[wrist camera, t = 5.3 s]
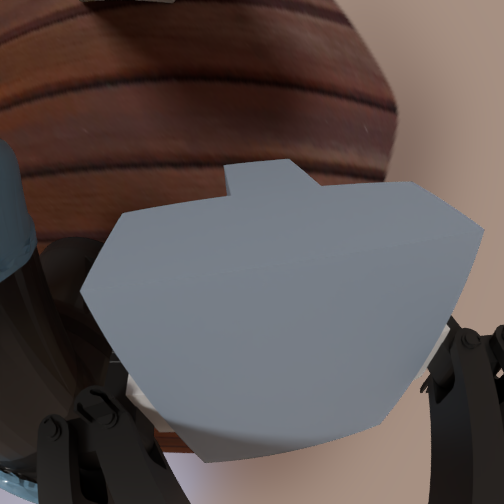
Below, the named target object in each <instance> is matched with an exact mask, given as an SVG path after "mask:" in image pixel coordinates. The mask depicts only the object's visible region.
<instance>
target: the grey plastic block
mask: <svg viewBox="0 0 504 504" xmlns="http://www.w3.org/2000/svg"><path fill="white" fill-rule="evenodd" d="M224 171H225V180H226V189H227V196H225V197H218V198H210V199H203V200H197V201H190V202H184V203H177V204H171V205H165V206H159V207H154V208H148V209H143V210H137V211H132V212H127V213H123V214H122V215H121V217H120V218H119V220H118V222H117V223H116V225H115V227H114V228H113V230H112V232H111V233H110V235H109V237H108V239H107V240H106V242H105V244H104V246H103V247H102V249H101V251H100V253H99V255H98V256H97V258H96V260H95V262H94V264H93V266H92V268H91V270H90V272H89V274H88V276H87V278H86V280H85V282H84V284H83V286H82V288H81V290H80V292H81V294H82V296H83V298H84V300H85V302H86V304H87V306H88V308H89V310H90V311H91V313H92V315H93V317H94V319H95V320H96V322H97V324H98V326H99V327H100V329H101V331H102V332H103V334H104V336H105V337H106V339H107V341H108V342H109V344H110V346H111V347H112V349H113V350H114V352H115V353H116V355H117V357H118V358H119V360H120V361H121V363H122V364H123V366H124V367H125V368H126V370H127V371H128V373H129V374H130V376H131V377H132V378H133V380H134V381H135V383H136V384H137V385H138V387H139V388H140V389H141V391H142V392H143V393H144V395H145V396H146V397H147V399H148V400H149V401H150V403H151V404H152V405H153V406H154V408H155V409H156V410H157V411H158V412H159V414H160V415H161V416H162V417H163V419H164V420H165V421H166V422H167V423H168V424H169V426H170V427H171V428H172V429H173V430H174V431H175V432H176V433H177V435H178V436H179V437H180V438H181V439H182V440H183V441H184V442H185V443H186V444H187V445H188V446H189V448H190V449H191V450H192V451H193V452H194V453H195V454H196V455H197V456H198V457H199V458H200V459H201V460H202V461H203V462H204V463H212V462H223V461H233V460H242V459H250V458H256V457H263V456H269V455H275V454H280V453H285V452H290V451H294V450H299V449H303V448H307V447H311V446H315V445H319V444H323V443H326V442H330V441H333V440H336V439H340V438H343V437H346V436H349V435H352V434H355V433H358V432H361V431H363V430H366V429H369V428H372V427H374V426H376V425H379V424H381V422H382V421H383V420H384V419H385V417H386V416H387V415H388V414H389V412H390V411H391V410H392V409H393V407H394V406H395V405H396V403H397V402H398V401H399V399H400V398H401V397H402V395H403V394H404V392H405V391H406V390H407V388H408V387H409V385H410V384H411V382H412V381H413V379H414V378H415V376H416V375H417V373H418V372H419V370H420V369H421V367H422V366H423V364H424V362H425V361H426V359H427V358H428V356H429V354H430V353H431V351H432V349H433V347H434V346H435V344H436V342H437V340H438V339H439V337H440V335H441V333H442V331H443V329H444V328H445V326H446V324H447V322H448V320H449V318H450V316H451V314H452V312H453V310H454V308H455V305H456V303H457V301H458V299H459V297H460V294H461V292H462V290H463V288H464V285H465V283H466V281H467V278H468V275H469V273H470V271H471V268H472V265H473V263H474V260H475V257H476V254H477V251H478V249H479V246H480V242H481V239H482V236H483V233H484V229H483V228H482V227H480V226H479V225H478V224H476V223H475V222H474V221H472V220H471V219H469V218H468V217H467V216H465V215H464V214H462V213H461V212H460V211H458V210H457V209H455V208H454V207H452V206H451V205H449V204H447V203H446V202H445V201H443V200H441V199H440V198H438V197H437V196H435V195H434V194H432V193H430V192H429V191H427V190H425V189H424V188H422V187H421V186H419V185H417V184H415V183H414V182H384V183H363V184H346V185H331V186H320V185H319V184H318V183H317V182H316V181H315V180H313V179H312V178H311V177H310V176H309V175H308V174H306V173H305V172H304V171H303V170H302V169H301V168H299V167H298V166H297V165H296V164H295V163H293V162H292V161H291V160H290V159H282V160H270V161H259V162H249V163H240V164H231V165H224Z"/></svg>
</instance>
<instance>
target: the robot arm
mask: <svg viewBox="0 0 504 504" xmlns="http://www.w3.org/2000/svg"><path fill="white" fill-rule="evenodd" d="M103 246H104V243H101V242H99V241H95V240H92V239H88V238H82V237H68V238H63V239H60V240H57V241H55V242H53V243H51V244H50V245H49V246H47V247H46V248H45V249H44V251H43V252H42V253H41V254H40V256H39V254H38V250H37V239H36V231H35V226H34V222H33V220H32V218H31V216H30V215H29V214H28V211H27V207H26V203H25V198H24V193H23V188H22V182H21V176H20V170H19V165H18V161H17V158H16V156H15V153H14V152H13V150H12V148H11V147H10V146H9V145H8V144H7V143H6V142H5V141H4V140H2V139H1V138H0V488H2V489H4V490H5V491H7V492H9V493H12V494H14V495H16V496H18V497H20V498H23V499H25V500H28V501H30V502H33V503H36V504H191V503H190V502H189V500H188V498H187V497H186V495H185V493H184V492H183V490H182V488H181V486H180V485H179V483H178V481H177V479H176V477H175V476H174V474H173V472H172V470H171V468H170V466H169V464H168V462H167V460H166V458H165V456H164V454H163V452H162V450H161V448H160V446H159V444H158V442H157V440H156V439H155V438H154V427H155V428H156V429H157V430H158V431H159V432H175V431H174V430H173V429H172V428H171V427H170V426H169V424H168V423H167V422H166V421H165V420H164V419H163V417H162V416H161V415H160V414H159V412H158V411H157V410H156V409H155V408H154V406H153V405H152V404H151V403H150V401H149V400H148V399H147V397H146V396H145V395H144V393H143V392H142V391H141V389H140V388H139V387H138V385H137V384H136V383H135V381H134V380H133V378H132V377H131V376H130V374H129V373H128V371H127V370H126V368H125V367H124V366H123V364H122V363H121V361H120V360H119V358H118V357H117V355H116V353H115V352H114V350H113V349H112V347H111V346H110V344H109V342H108V341H107V339H106V337H105V336H104V334H103V332H102V331H101V329H100V327H99V326H98V324H97V322H96V320H95V319H94V317H93V315H92V313H91V311H90V310H89V308H88V306H87V304H86V302H85V300H84V298H83V296H82V294H81V292H80V290H81V288H82V286H83V284H84V282H85V280H86V278H87V276H88V274H89V272H90V270H91V268H92V266H93V264H94V262H95V260H96V258H97V256H98V255H99V253H100V251H101V249H102V247H103ZM427 368H428V370H429V372H430V375H429V376H428V378H427V379H426V381H425V382H424V383H423V385H422V387H421V388H420V393H423V391H424V390H425V389H426V387H427V386H428V388H427V391H426V393H429V404H430V419H431V478H430V493H429V502H428V504H504V374H503V375H502V376H501V377H500V378H498V377H497V376H496V374H497V373H498V372H499V371H500V369H501V368H502V370H503V372H504V325H500V326H498V327H497V328H496V330H495V332H494V333H493V335H485V336H480V335H479V334H478V333H477V332H476V331H474V330H472V329H469V328H461V327H460V326H459V324H458V323H457V322H456V321H455V319H454V318H453V317H452V316H450V318H449V320H448V322H447V324H446V326H445V328H444V329H443V331H442V333H441V335H440V337H439V339H438V340H437V342H436V344H435V346H434V347H433V349H432V351H431V353H430V354H429V356H428V358H427V359H426V361H425V362H424V364H423V366H422V367H421V369H420V370H419V372H418V373H417V375H416V376H415V378H414V379H413V380H415V379H417V378H419V377H421V376H422V374H423V373H424V372H425V370H426V369H427Z"/></svg>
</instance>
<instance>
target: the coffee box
mask: <svg viewBox="0 0 504 504" xmlns="http://www.w3.org/2000/svg"><path fill="white" fill-rule="evenodd" d="M79 1H82V2H85V1H103V0H79ZM137 1H154V2H165V3H174V2H175V0H137Z"/></svg>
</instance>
